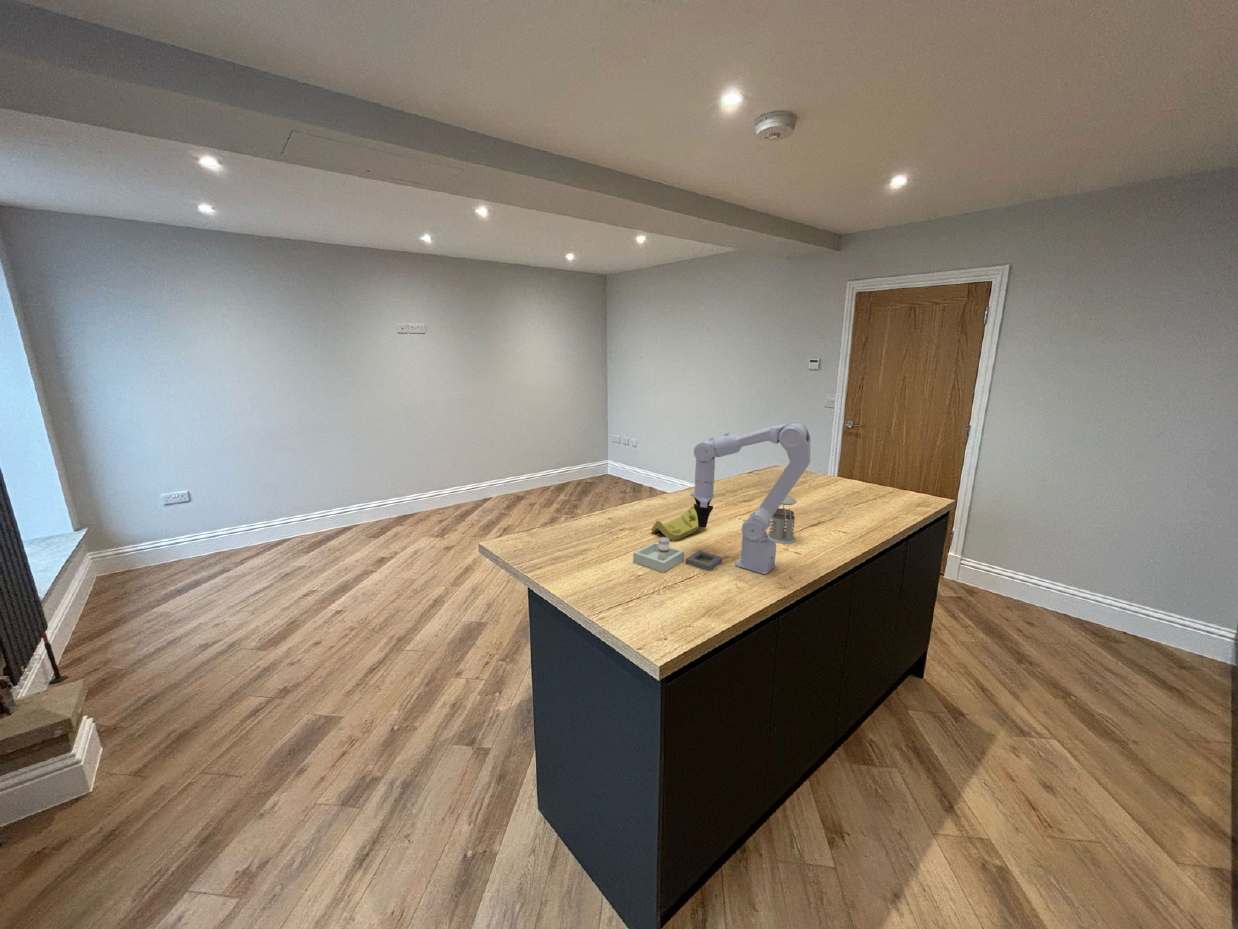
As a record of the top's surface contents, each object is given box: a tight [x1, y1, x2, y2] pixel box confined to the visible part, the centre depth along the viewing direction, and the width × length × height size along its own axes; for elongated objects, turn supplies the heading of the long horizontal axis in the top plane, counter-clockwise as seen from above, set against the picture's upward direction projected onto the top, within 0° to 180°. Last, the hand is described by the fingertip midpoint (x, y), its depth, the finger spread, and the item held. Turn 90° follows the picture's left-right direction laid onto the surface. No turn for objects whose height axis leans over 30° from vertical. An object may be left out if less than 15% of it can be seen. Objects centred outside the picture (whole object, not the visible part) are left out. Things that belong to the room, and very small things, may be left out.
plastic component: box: [650, 505, 700, 542], centre depth 163 cm, size 20×7×10 cm
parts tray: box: [632, 541, 685, 573], centre depth 139 cm, size 11×11×3 cm
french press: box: [767, 467, 798, 545], centre depth 155 cm, size 10×12×25 cm
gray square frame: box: [685, 550, 723, 572], centre depth 138 cm, size 8×8×2 cm
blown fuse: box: [657, 536, 671, 561], centre depth 138 cm, size 3×3×6 cm
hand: (702, 522), depth 142 cm, fingers open, 7 cm apart
